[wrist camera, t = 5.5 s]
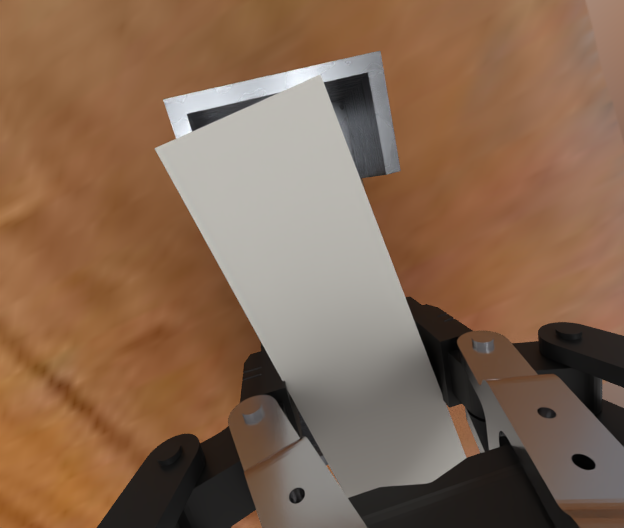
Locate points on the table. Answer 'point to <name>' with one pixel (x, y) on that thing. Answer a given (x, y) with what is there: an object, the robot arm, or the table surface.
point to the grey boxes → (346, 103)
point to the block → (318, 285)
